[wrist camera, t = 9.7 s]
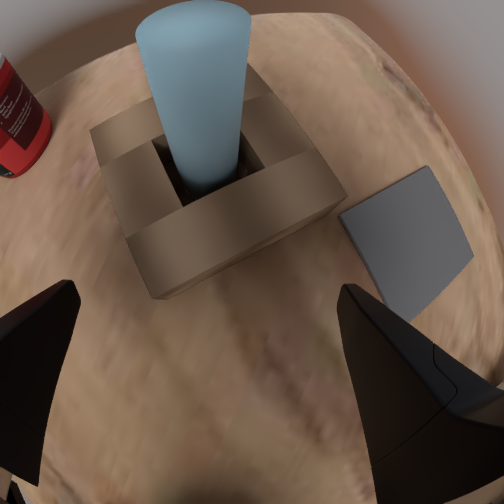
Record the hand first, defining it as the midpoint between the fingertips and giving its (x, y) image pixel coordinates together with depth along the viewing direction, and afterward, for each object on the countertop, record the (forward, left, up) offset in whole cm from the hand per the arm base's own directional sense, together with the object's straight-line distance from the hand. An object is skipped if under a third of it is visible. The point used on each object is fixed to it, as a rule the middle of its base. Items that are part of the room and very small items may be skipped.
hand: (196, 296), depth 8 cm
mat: (+17, -4, -10) cm, 20 cm away
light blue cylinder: (+4, +8, -10) cm, 13 cm away
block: (+4, +8, -10) cm, 13 cm away
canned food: (-11, +22, -10) cm, 27 cm away
